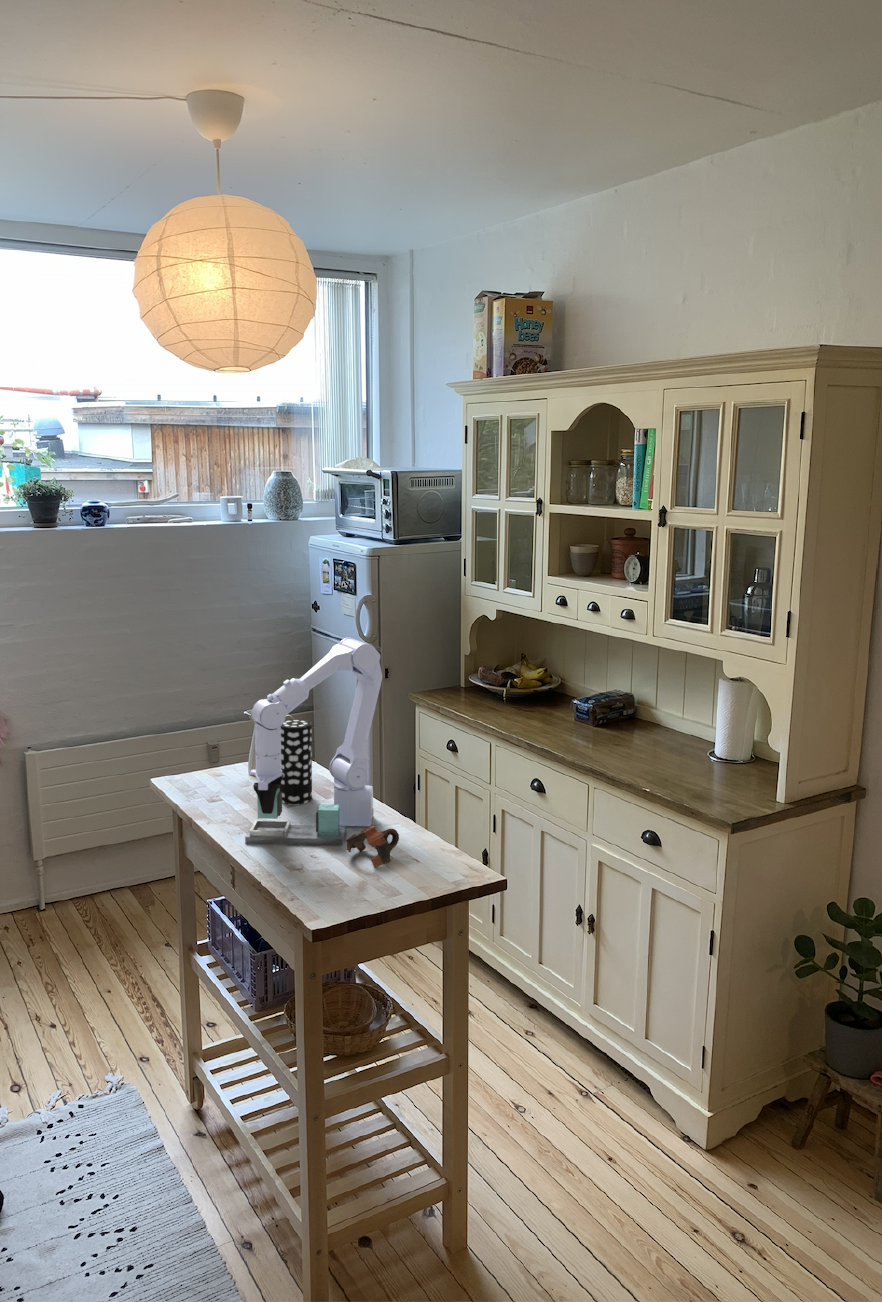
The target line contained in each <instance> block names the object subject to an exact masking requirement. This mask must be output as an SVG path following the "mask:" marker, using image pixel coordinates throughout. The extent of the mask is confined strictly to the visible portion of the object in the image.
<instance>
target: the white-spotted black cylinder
mask: <svg viewBox="0 0 882 1302" xmlns="http://www.w3.org/2000/svg"><path fill="white" fill-rule="evenodd" d="M312 724H313V723H312V721H310V720H307V719H302V718H290V719H285V721H284V723H283V724H282V725H281V770H282V774H283V775H284V777H283V779H282V781H281V783H280V787H279V788H280V791H282V804H285V805H290V804H298V805H303V804H304V805H305V804H307V803H309V802H311V801H312V800H313V764H312V763H313V751H312V750H313V748H312V747H313V746H312V745H313V740H312V738H313V737H312V736H313V733H312V732H313V730H312V729H313V728H312Z"/></svg>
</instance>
